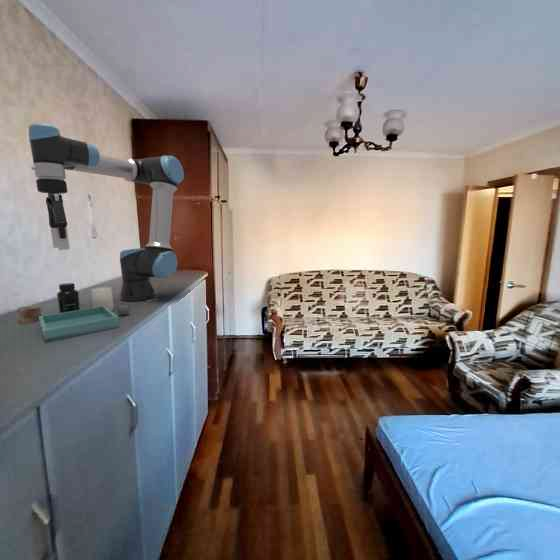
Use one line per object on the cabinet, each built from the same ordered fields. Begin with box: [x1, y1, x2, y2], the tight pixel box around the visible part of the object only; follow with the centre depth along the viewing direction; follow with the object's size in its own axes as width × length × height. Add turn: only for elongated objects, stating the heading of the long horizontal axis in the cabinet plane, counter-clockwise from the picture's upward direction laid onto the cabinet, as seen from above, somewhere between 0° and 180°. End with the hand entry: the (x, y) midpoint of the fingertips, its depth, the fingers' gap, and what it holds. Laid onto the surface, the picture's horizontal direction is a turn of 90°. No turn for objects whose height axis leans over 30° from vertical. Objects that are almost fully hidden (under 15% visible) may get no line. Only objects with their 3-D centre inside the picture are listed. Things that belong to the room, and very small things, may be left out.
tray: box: [38, 306, 120, 343], centre depth 103 cm, size 20×20×4 cm
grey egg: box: [117, 304, 130, 316], centre depth 115 cm, size 4×4×4 cm
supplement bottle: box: [56, 282, 81, 313], centre depth 117 cm, size 7×7×12 cm
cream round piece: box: [90, 286, 115, 312], centre depth 122 cm, size 7×7×9 cm
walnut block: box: [17, 305, 42, 325], centre depth 110 cm, size 5×5×5 cm
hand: (61, 248), depth 97 cm, fingers open, 13 cm apart
